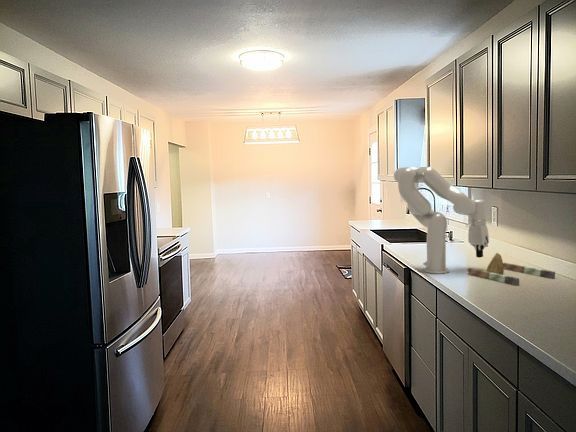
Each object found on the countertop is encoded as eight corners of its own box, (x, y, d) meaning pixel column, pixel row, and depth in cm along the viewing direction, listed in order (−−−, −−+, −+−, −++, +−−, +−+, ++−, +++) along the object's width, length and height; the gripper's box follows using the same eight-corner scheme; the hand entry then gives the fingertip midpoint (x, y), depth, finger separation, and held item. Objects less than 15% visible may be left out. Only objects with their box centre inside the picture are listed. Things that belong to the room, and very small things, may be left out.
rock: (509, 271, 219) (509, 264, 227) (497, 257, 219) (498, 251, 228) (490, 282, 224) (490, 275, 232) (479, 269, 225) (480, 263, 233)
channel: (468, 274, 226) (468, 268, 225) (504, 268, 236) (504, 262, 236) (516, 285, 200) (516, 279, 200) (554, 278, 210) (555, 271, 210)
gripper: (462, 222, 240) (463, 256, 241) (484, 224, 226) (485, 260, 228) (472, 221, 243) (473, 254, 244) (495, 222, 229) (496, 257, 230)
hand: (479, 256), depth 236 cm, fingers closed
